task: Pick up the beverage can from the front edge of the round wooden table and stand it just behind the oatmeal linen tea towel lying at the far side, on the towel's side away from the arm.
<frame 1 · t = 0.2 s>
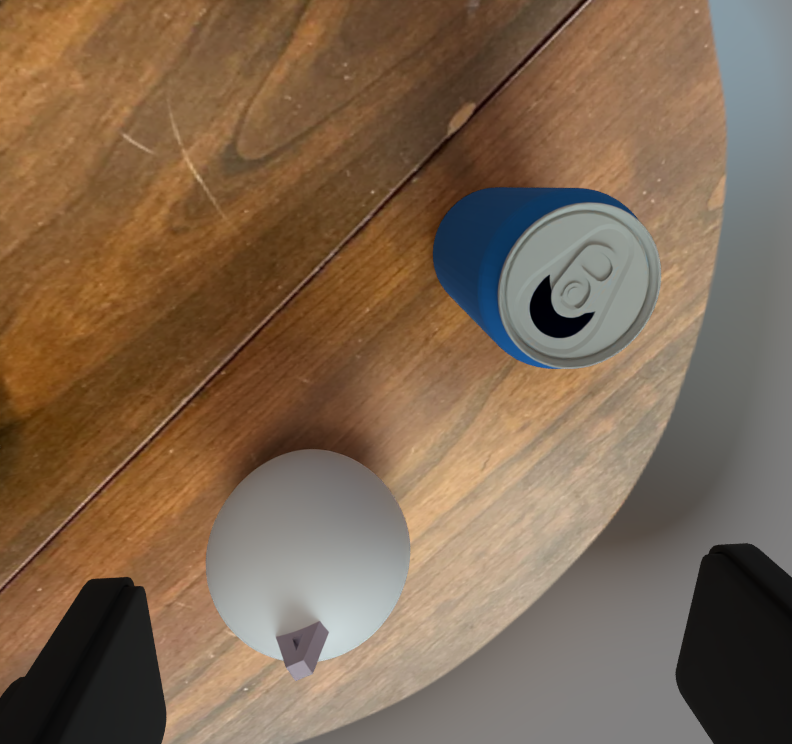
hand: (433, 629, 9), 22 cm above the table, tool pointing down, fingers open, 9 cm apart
ornament: (315, 495, 34), on the table
beverage can: (488, 249, 30), on the table
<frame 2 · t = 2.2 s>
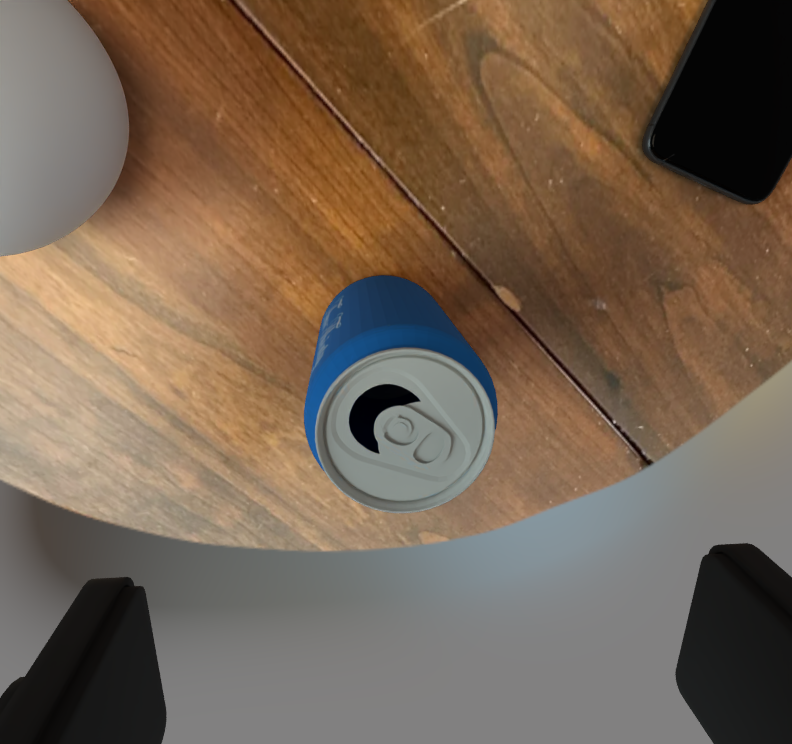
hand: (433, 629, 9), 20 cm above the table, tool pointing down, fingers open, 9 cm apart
ornament: (42, 120, 24), on the table
smartphone: (774, 22, 25), on the table
beverage can: (382, 334, 28), on the table
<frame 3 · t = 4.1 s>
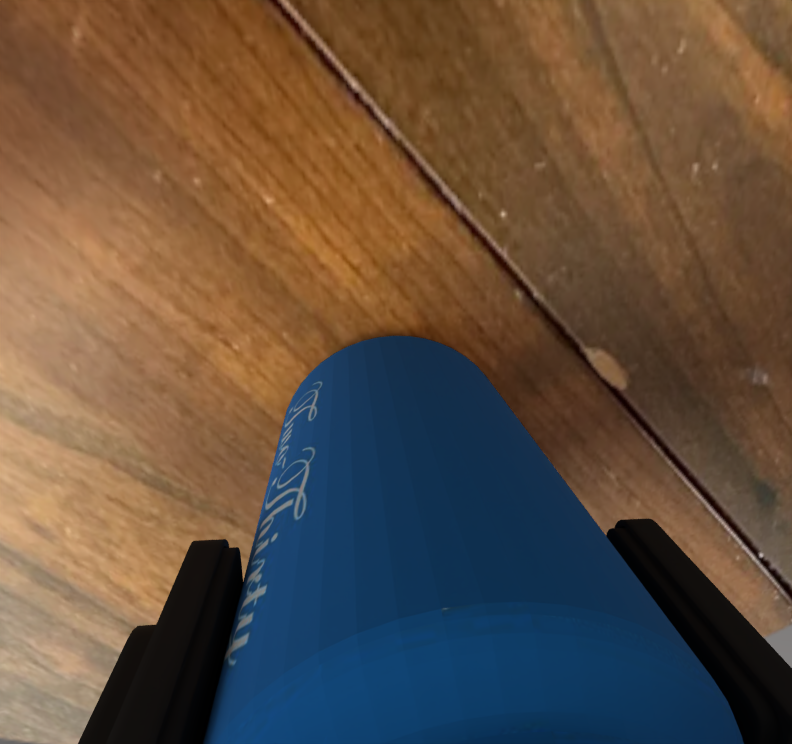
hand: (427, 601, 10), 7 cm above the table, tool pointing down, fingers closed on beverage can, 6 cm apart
beverage can: (392, 429, 16), on the table, touching gripper
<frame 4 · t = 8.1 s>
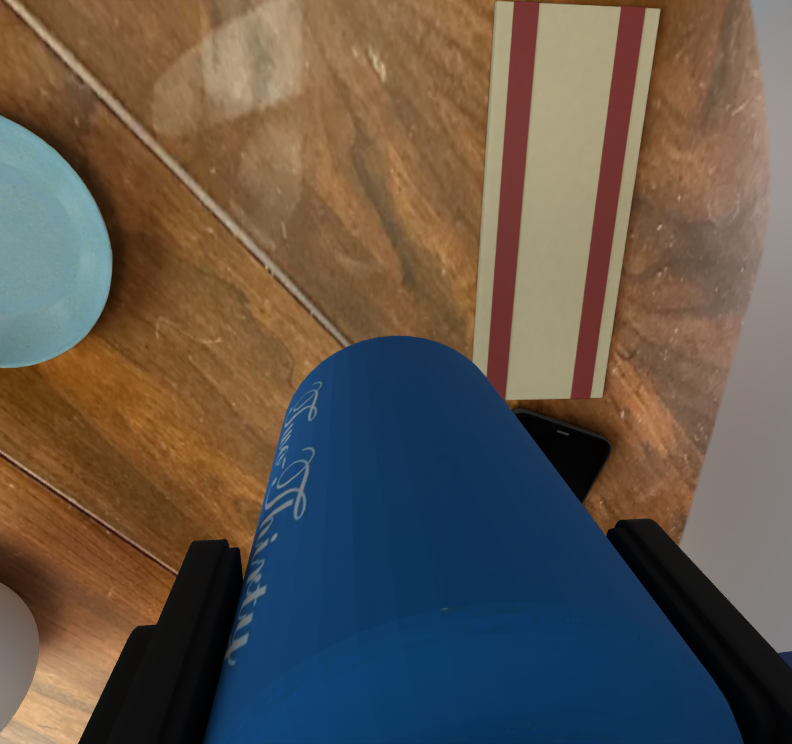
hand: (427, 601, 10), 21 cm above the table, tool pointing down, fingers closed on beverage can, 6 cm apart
smartphone: (508, 517, 35), on the table
beverage can: (392, 429, 16), point 14 cm above the table, touching gripper
saucer: (6, 240, 27), on the table
tea towel: (553, 224, 29), on the table
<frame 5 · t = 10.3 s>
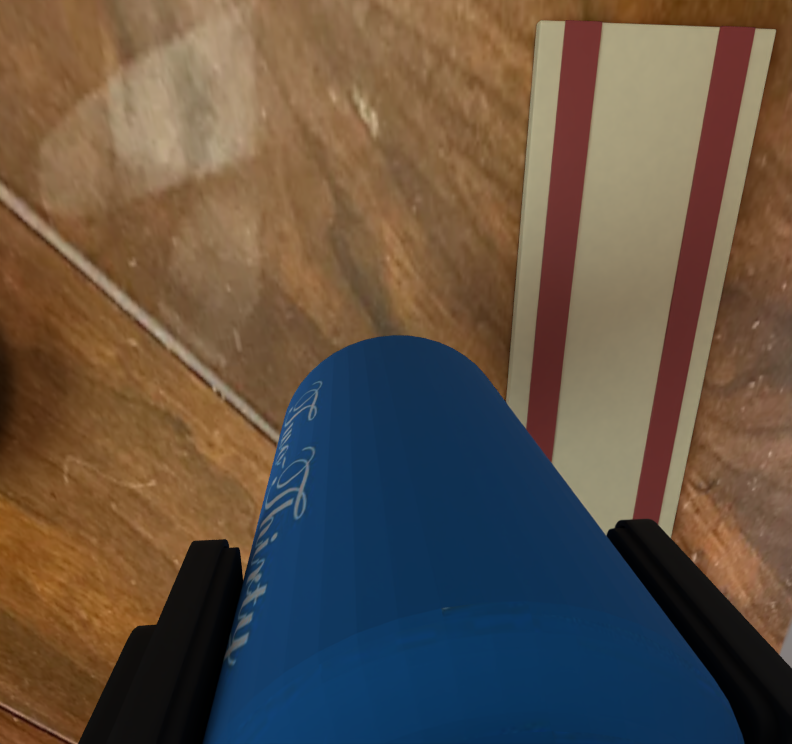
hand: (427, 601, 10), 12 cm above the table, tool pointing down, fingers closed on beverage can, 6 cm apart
beverage can: (392, 428, 16), point 5 cm above the table, touching gripper
tea towel: (612, 324, 21), on the table
when the fingers open (7 cm above the table, at t = 12.0 s): beverage can stays where it is, on the table.
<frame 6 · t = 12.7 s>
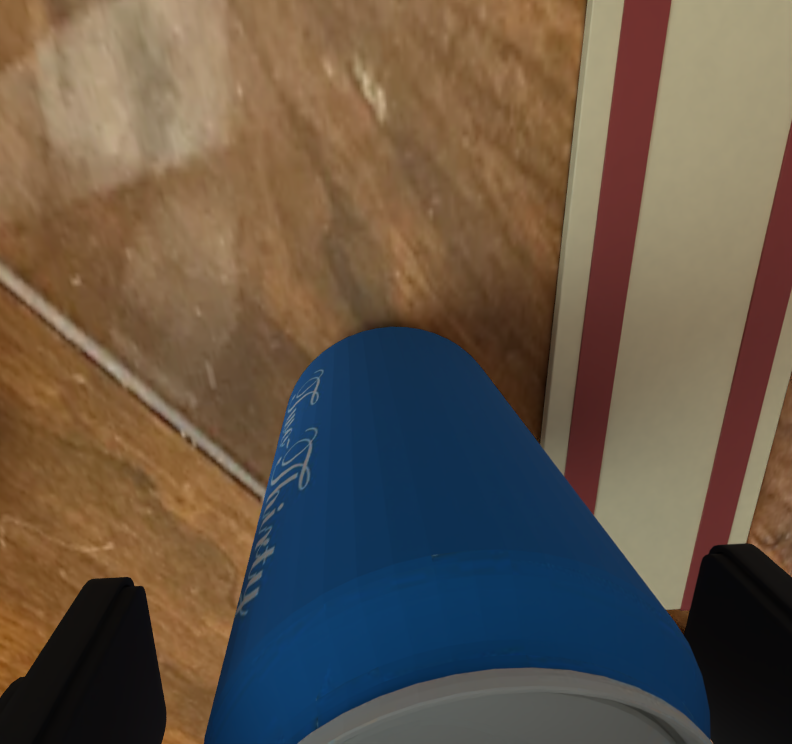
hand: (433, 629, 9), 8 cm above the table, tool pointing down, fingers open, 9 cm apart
beverage can: (390, 417, 17), on the table
tea towel: (670, 353, 17), on the table
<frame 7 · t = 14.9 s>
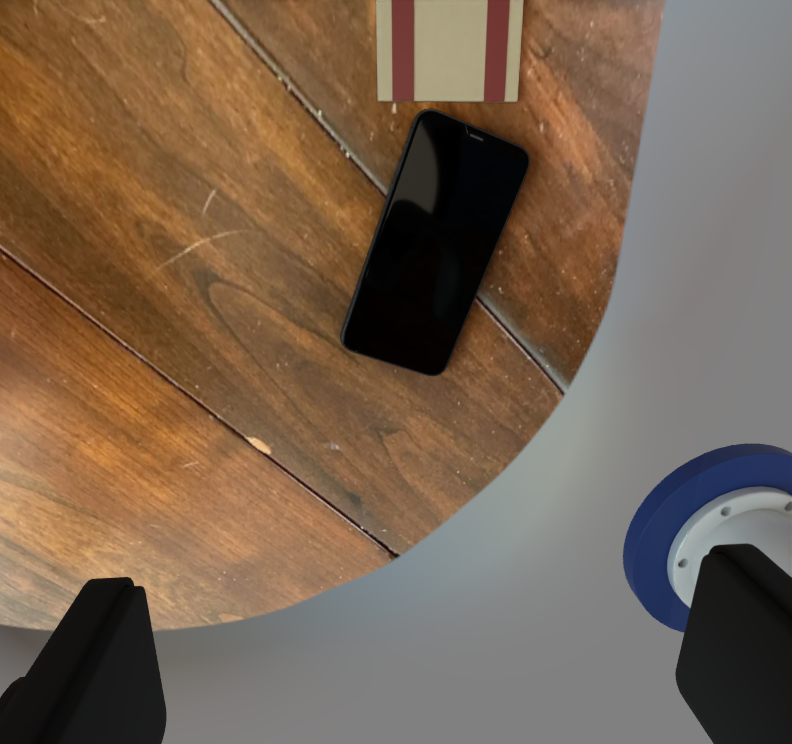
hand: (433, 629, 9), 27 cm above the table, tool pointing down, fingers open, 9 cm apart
smartphone: (429, 252, 33), on the table
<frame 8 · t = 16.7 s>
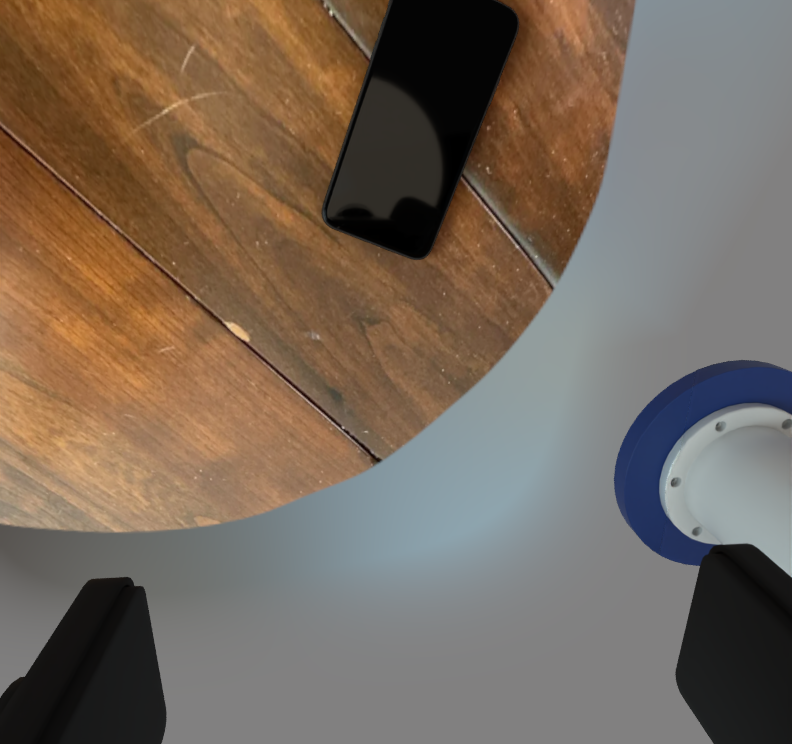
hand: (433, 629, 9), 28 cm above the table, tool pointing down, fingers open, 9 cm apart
smartphone: (415, 124, 33), on the table
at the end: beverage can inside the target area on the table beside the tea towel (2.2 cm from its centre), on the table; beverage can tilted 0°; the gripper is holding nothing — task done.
